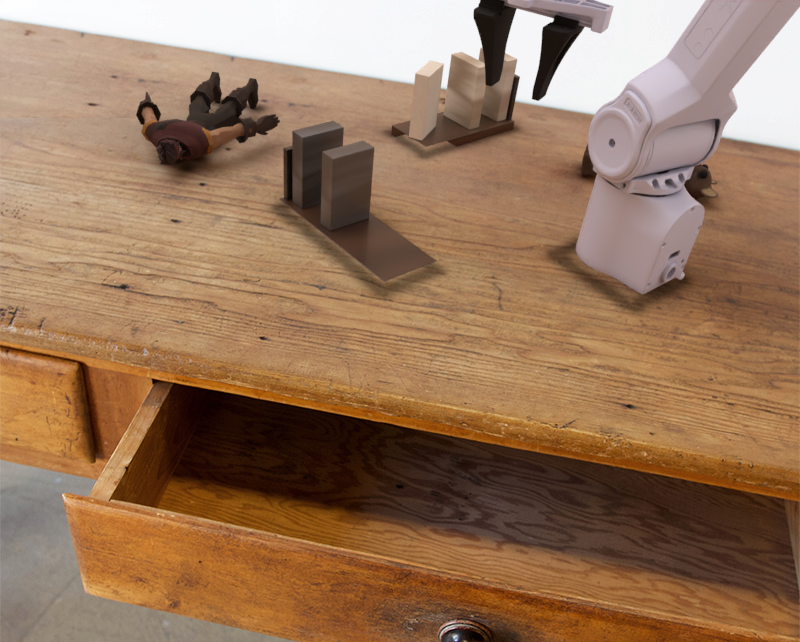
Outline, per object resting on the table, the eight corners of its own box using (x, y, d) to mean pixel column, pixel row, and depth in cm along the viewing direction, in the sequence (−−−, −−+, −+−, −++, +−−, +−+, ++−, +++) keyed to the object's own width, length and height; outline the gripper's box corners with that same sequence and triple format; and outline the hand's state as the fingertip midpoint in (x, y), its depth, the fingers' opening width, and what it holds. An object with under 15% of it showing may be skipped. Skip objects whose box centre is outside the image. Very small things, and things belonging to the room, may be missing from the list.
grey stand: (435, 270, 68) (448, 187, 62) (383, 291, 65) (391, 206, 59) (329, 192, 76) (332, 113, 70) (278, 207, 73) (277, 126, 67)
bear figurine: (597, 113, 89) (727, 128, 86) (590, 148, 92) (717, 165, 89) (573, 178, 76) (726, 199, 73) (567, 217, 79) (713, 239, 76)
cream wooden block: (436, 126, 87) (444, 63, 82) (421, 140, 84) (429, 76, 79) (422, 122, 88) (430, 60, 83) (408, 137, 84) (415, 73, 80)
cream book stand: (513, 128, 91) (526, 60, 86) (425, 154, 84) (434, 81, 78) (478, 110, 94) (489, 42, 89) (390, 133, 87) (397, 61, 82)
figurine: (174, 101, 90) (91, 166, 75) (171, 63, 87) (84, 123, 72) (297, 123, 89) (238, 193, 73) (298, 85, 86) (237, 150, 71)
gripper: (451, -77, 66) (432, 81, 75) (610, -39, 62) (569, 124, 71) (486, -89, 71) (463, 62, 80) (635, -54, 66) (594, 101, 76)
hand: (515, 90), depth 76 cm, fingers open, 4 cm apart
